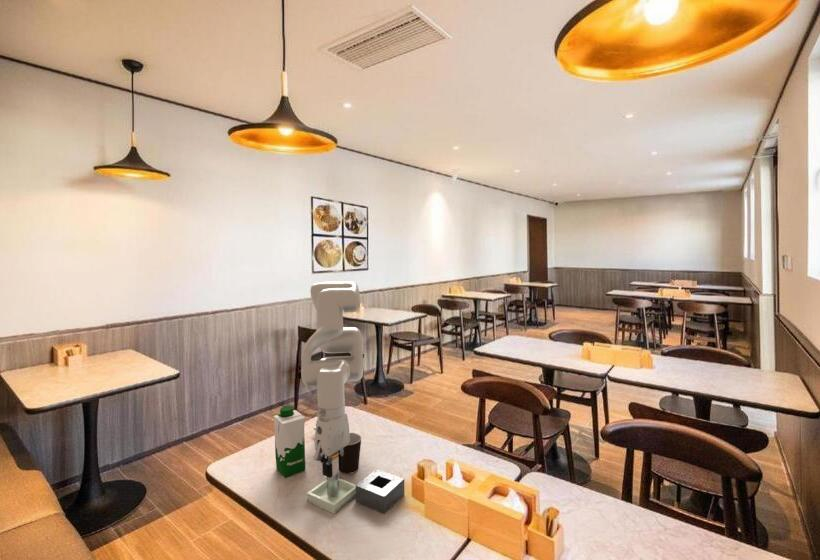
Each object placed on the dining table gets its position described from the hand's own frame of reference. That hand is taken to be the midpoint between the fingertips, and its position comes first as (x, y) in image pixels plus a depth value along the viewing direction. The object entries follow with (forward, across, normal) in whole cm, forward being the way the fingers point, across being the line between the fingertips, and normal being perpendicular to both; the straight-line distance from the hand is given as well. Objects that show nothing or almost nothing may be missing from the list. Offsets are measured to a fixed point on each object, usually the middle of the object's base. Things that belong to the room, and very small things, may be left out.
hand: (332, 471), depth 114 cm
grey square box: (+8, +7, -12) cm, 16 cm away
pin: (+6, 0, 0) cm, 6 cm away
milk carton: (+8, +4, +22) cm, 24 cm away
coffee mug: (+8, +16, +7) cm, 19 cm away
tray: (+8, 0, 0) cm, 8 cm away
